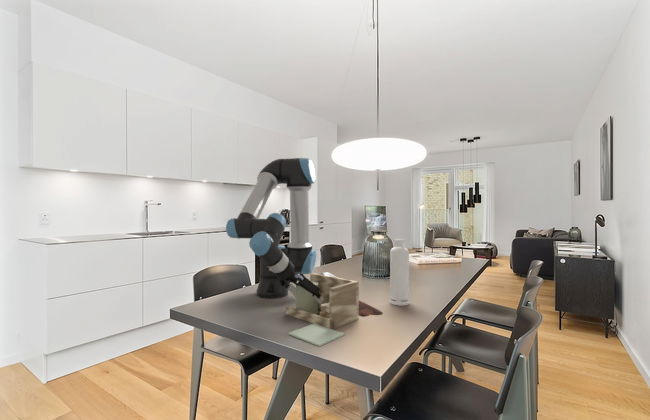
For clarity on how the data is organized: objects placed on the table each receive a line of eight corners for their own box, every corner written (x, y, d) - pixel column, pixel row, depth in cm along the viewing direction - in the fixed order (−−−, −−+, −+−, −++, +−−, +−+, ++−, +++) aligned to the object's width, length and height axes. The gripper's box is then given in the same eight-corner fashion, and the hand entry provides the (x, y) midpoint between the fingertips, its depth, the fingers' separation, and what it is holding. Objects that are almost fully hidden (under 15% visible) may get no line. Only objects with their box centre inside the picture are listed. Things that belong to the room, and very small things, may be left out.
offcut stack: (317, 321, 119) (317, 305, 119) (335, 315, 126) (335, 299, 126) (332, 326, 114) (332, 309, 114) (350, 319, 122) (350, 303, 122)
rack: (286, 314, 128) (286, 278, 127) (312, 305, 139) (312, 272, 139) (332, 329, 112) (332, 288, 111) (358, 318, 123) (358, 281, 123)
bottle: (408, 306, 138) (408, 240, 138) (388, 304, 141) (389, 239, 141) (409, 301, 146) (409, 238, 146) (391, 299, 149) (391, 238, 149)
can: (322, 310, 132) (322, 281, 132) (310, 317, 124) (310, 285, 124) (303, 307, 137) (304, 278, 137) (290, 313, 129) (290, 283, 129)
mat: (288, 334, 107) (288, 332, 107) (313, 324, 116) (313, 323, 116) (319, 346, 98) (319, 344, 98) (344, 335, 107) (344, 333, 107)
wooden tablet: (334, 297, 149) (353, 292, 153) (334, 301, 149) (354, 297, 153) (361, 315, 125) (383, 309, 128) (362, 321, 125) (384, 314, 128)
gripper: (254, 269, 126) (284, 300, 138) (298, 279, 110) (328, 313, 121) (265, 254, 130) (293, 285, 142) (310, 261, 114) (337, 296, 125)
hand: (309, 298), depth 131 cm, fingers open, 13 cm apart
